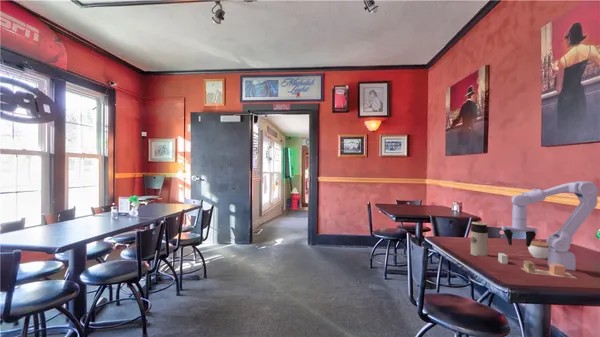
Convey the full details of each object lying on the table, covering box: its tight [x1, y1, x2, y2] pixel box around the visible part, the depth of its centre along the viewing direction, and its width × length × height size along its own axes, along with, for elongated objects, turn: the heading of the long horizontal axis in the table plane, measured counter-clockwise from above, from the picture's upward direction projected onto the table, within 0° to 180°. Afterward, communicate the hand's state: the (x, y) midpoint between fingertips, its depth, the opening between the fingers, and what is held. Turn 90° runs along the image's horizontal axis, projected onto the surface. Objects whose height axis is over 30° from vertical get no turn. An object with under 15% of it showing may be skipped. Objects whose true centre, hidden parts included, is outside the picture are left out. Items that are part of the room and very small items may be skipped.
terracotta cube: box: [548, 263, 567, 277], centre depth 127 cm, size 4×4×4 cm
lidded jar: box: [527, 239, 549, 260], centre depth 157 cm, size 11×11×9 cm
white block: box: [497, 252, 509, 265], centre depth 141 cm, size 18×7×5 cm, turn 72°
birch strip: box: [520, 259, 577, 279], centre depth 128 cm, size 18×7×5 cm, turn 72°
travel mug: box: [470, 221, 489, 258], centre depth 158 cm, size 8×8×18 cm
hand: (519, 245), depth 144 cm, fingers open, 7 cm apart
